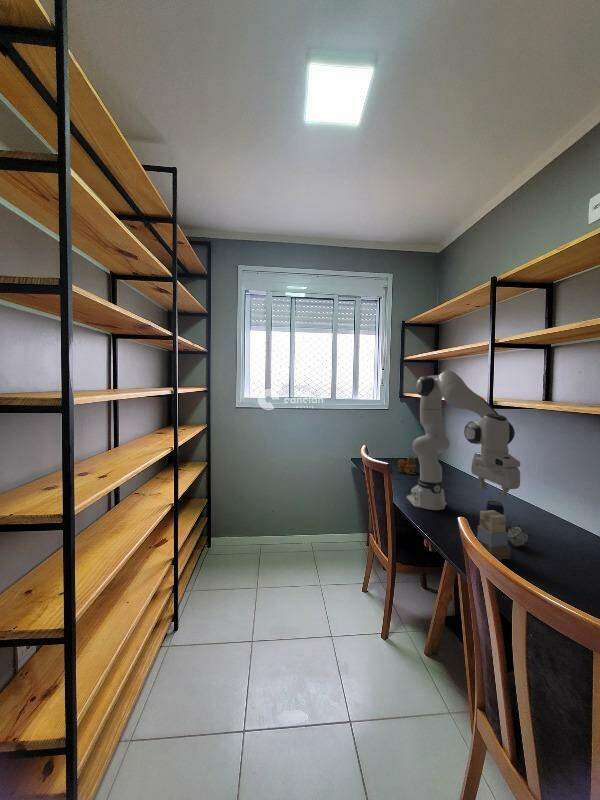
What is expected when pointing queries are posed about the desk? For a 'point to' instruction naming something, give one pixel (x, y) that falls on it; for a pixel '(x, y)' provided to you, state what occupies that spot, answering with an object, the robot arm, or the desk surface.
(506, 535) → the slate block
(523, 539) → the game die
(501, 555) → the walnut plinth
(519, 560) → the desk surface
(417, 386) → the robot arm
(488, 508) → the soda can
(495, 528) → the maple block
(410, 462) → the stuffed squirrel
